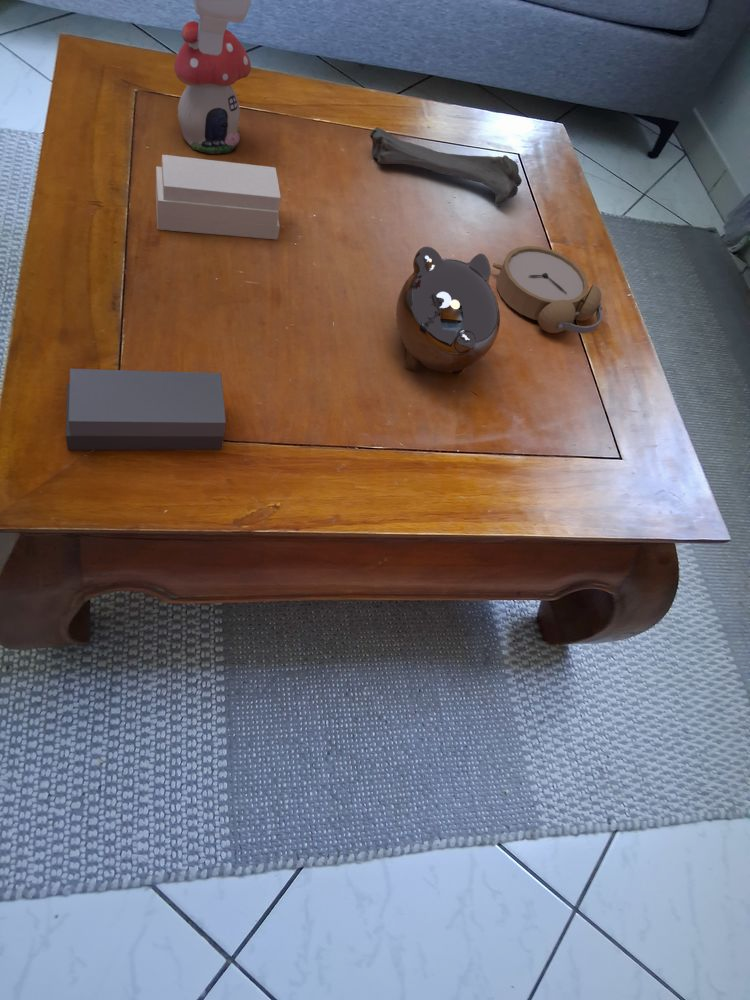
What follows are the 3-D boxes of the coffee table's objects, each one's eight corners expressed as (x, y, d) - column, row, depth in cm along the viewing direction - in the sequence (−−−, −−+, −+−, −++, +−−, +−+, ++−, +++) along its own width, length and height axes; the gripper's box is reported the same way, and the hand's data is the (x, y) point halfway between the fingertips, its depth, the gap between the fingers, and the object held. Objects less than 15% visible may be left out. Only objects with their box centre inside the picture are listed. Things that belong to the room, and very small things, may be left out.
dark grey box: (67, 450, 70) (63, 421, 66) (68, 398, 73) (65, 368, 69) (222, 449, 74) (226, 422, 71) (217, 401, 77) (221, 372, 74)
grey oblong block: (157, 229, 88) (157, 200, 85) (155, 195, 91) (156, 166, 88) (277, 239, 92) (282, 212, 89) (272, 206, 95) (276, 179, 92)
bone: (512, 189, 111) (530, 152, 106) (512, 216, 107) (530, 178, 102) (367, 143, 108) (378, 102, 103) (361, 169, 104) (372, 128, 99)
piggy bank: (463, 309, 94) (498, 234, 85) (486, 404, 86) (528, 334, 77) (376, 300, 91) (403, 221, 82) (392, 398, 83) (424, 323, 74)
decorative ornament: (176, 154, 96) (181, 32, 84) (166, 122, 99) (169, -1, 86) (248, 156, 99) (263, 39, 87) (236, 124, 102) (249, 7, 90)
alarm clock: (542, 236, 101) (630, 295, 95) (531, 268, 105) (615, 327, 98) (484, 258, 96) (573, 322, 89) (475, 291, 99) (560, 355, 93)
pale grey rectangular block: (163, 199, 85) (163, 185, 83) (161, 167, 88) (161, 154, 86) (278, 210, 89) (281, 197, 87) (273, 180, 92) (275, 167, 90)
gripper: (165, -266, 55) (159, -54, 66) (182, -143, 45) (171, 82, 56) (252, -240, 57) (232, -39, 68) (286, -117, 47) (256, 95, 58)
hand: (204, 17), depth 62 cm, fingers open, 8 cm apart
